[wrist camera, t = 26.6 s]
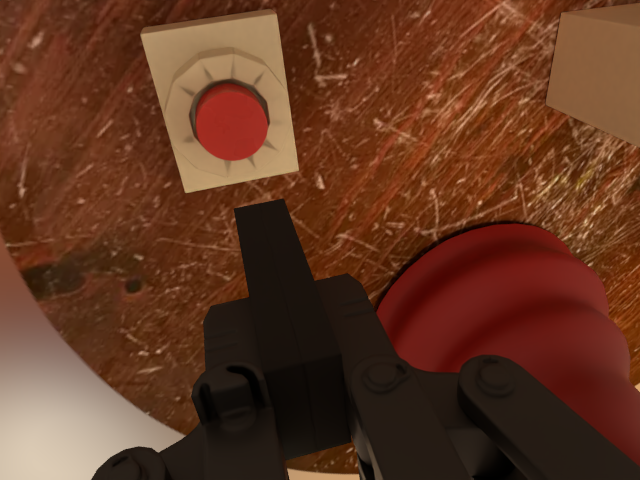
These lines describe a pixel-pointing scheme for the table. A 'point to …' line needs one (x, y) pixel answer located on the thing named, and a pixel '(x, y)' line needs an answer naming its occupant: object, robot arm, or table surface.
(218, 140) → the red push button
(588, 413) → the table lamp
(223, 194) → the table surface
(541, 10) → the table surface
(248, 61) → the control block
